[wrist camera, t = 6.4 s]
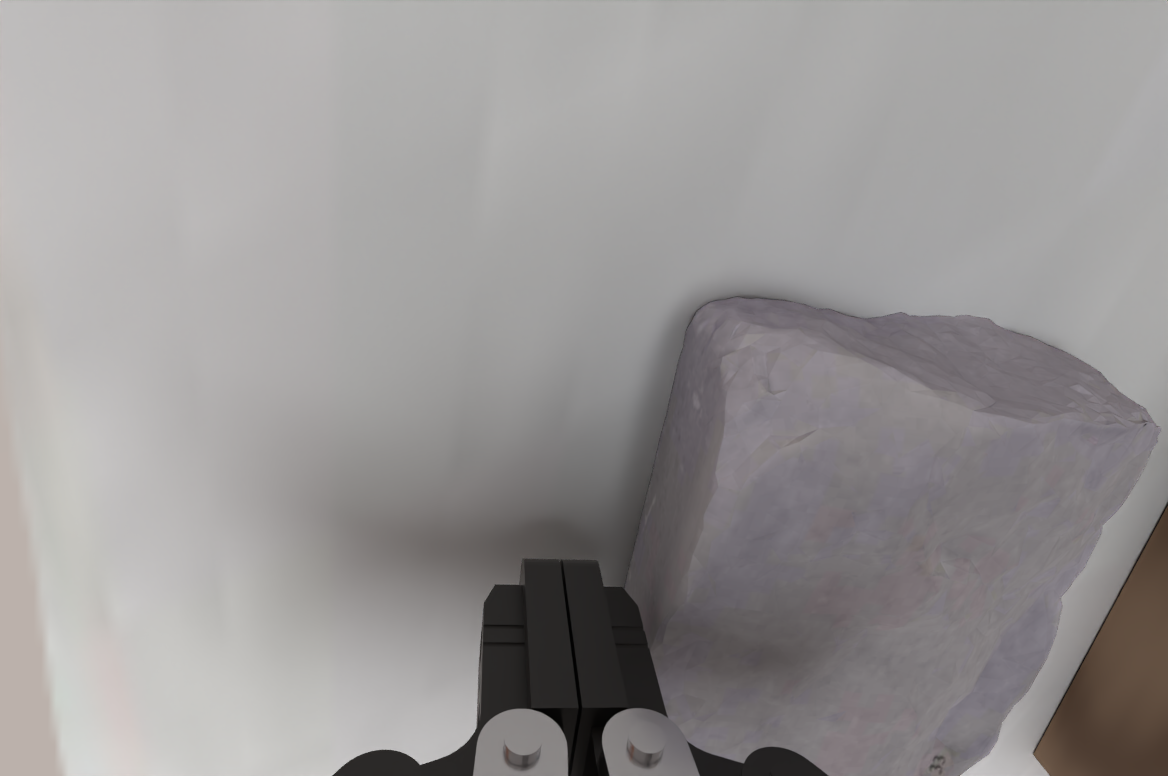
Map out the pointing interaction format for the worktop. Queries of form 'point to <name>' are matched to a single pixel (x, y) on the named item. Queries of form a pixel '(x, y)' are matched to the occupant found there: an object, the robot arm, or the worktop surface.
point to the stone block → (869, 530)
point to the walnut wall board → (1120, 684)
